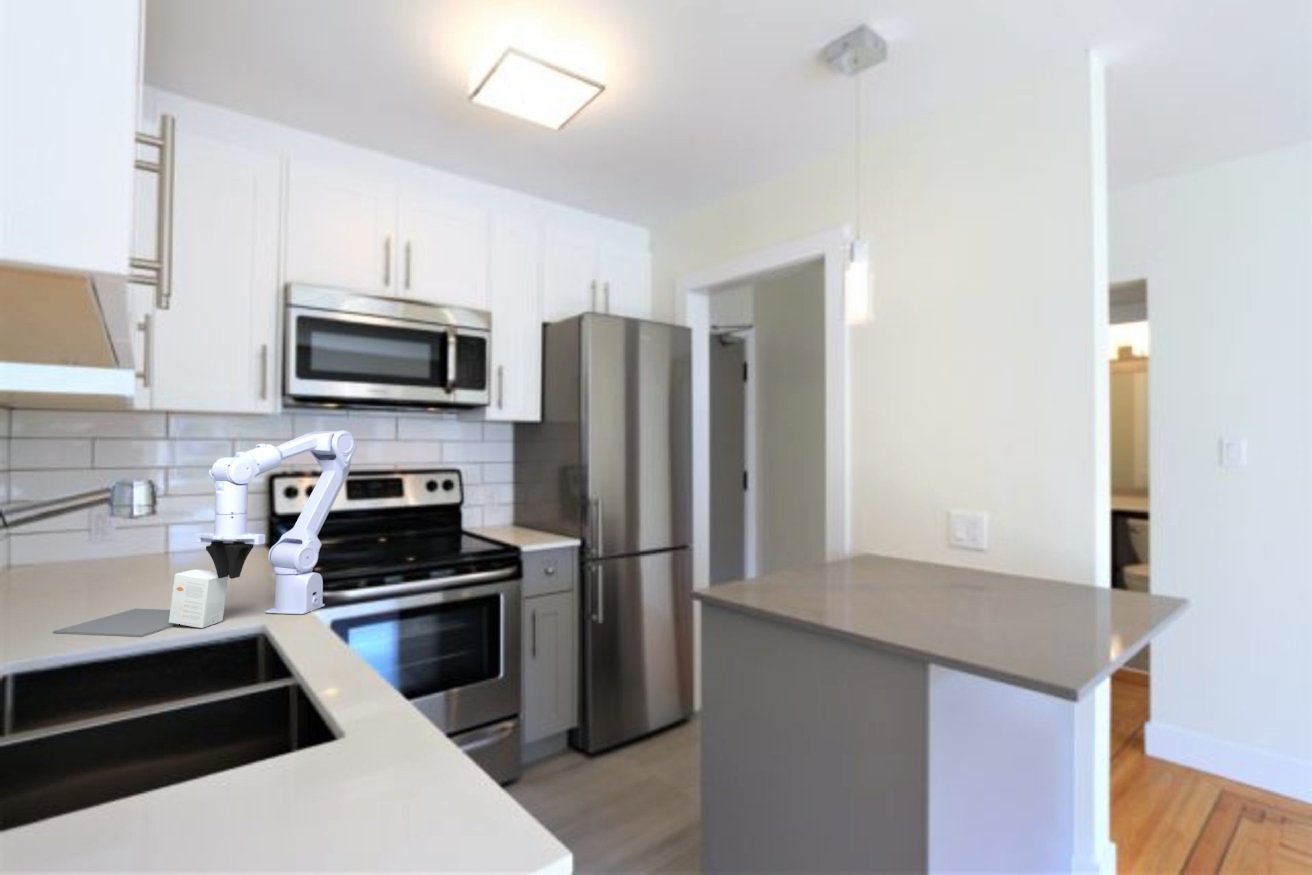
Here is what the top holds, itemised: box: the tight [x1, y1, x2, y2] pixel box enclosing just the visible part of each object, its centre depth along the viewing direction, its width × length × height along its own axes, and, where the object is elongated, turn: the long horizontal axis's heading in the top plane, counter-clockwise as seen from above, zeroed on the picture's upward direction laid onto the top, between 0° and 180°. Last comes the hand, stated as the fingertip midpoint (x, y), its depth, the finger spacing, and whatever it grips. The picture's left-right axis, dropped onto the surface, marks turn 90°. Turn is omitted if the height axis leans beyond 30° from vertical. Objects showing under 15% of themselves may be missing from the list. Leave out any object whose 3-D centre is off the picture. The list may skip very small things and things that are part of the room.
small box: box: [169, 568, 229, 629], centre depth 133 cm, size 8×6×10 cm
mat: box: [52, 608, 180, 638], centre depth 135 cm, size 20×18×1 cm
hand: (229, 577), depth 132 cm, fingers open, 2 cm apart
